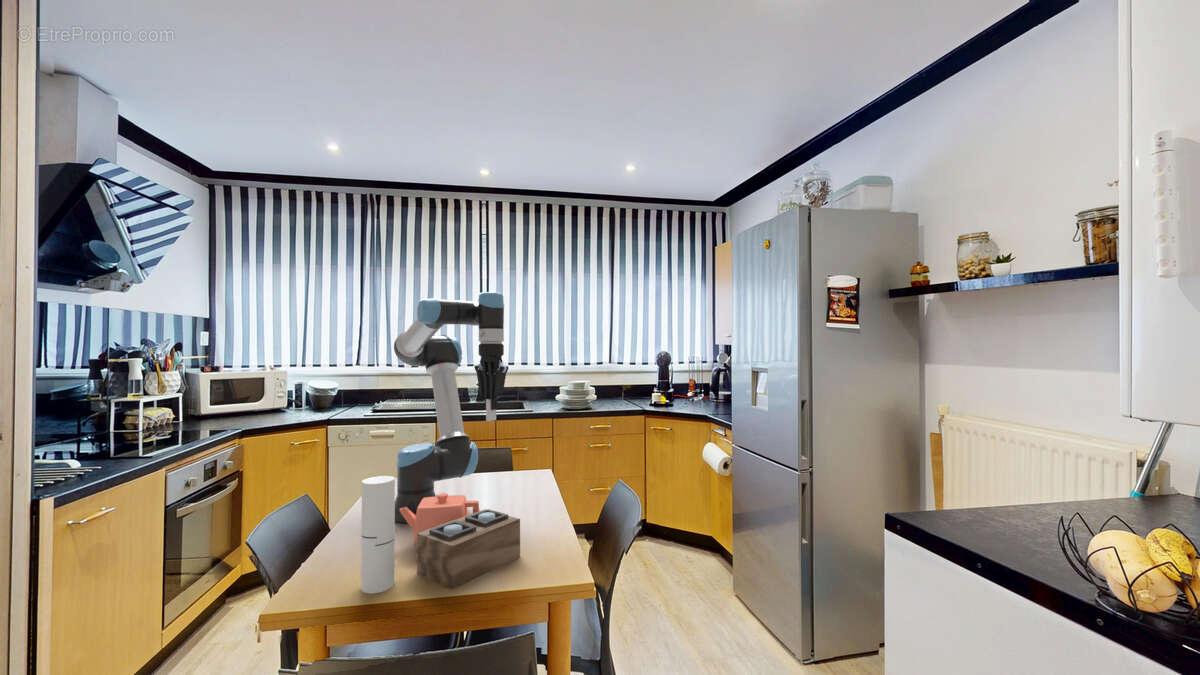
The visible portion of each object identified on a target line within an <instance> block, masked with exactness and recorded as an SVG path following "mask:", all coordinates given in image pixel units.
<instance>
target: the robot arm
mask: <svg viewBox="0 0 1200 675" xmlns="http://www.w3.org/2000/svg"><path fill="white" fill-rule="evenodd" d="M416 310H417V311H416V314H417V318H415V320H414V321H413V323H412V324H411V325H410V326H409V327H408V329H407V330H406V331H403V332H401V333H399V335H397V337H396V338H395V340H394V343H393V351H394V354H395V356H396V358H397V359H398V360H400V361H401V362H402V363H403V364H406V365H409V366H411V367H412V366H413V367H425V370H426V373H427V374H429V375H430V376H431V383H432V390H433V391H432V392H433V397H434V398H433V399H434V405H435V406H434V407H435V411H436V412H435V414H436V418H437V419H436V420H437V427H438V434H439V437H438V439H437V440H436V441H435V445H434V443H432V442H424V443H423V442H422V443H421V442H420V443H416V444H412V445H408V446H406V447H404V448H402V449H400V450H399V452H398V453H397V462H396V468H397V470H396V471H397V472H396V480H397V481H396V483H397V484H396V490H397V493H396V496H395V523H399V524H408V523H407V521H406V520H405V518H404V517H403V515H402V514H401V512H400V508H404V507H407V508H408V509H409V510H410V511H411V512H412V513H414V514H415V515H416V513H417V508H418V506H419V504H420V502H421V501H422V499H423V498H426V497H436V495H437V494H436V493H435V482H440V481H445V480H446V481H447V480H451V479H457V478H463V477H467V476H470V475H472V474H474V472H475V470H476V468H477V465H478V462H479V448H478V446H477V444H476V443H475V442H473V441H471V440H470V436H469V435H468V434H466V433H465V429H464V423H463V422H464V421H463V416H462V410H461V404H460V398H459V397H460V396H459V391H458V385H457V384H458V383H457V377H456V371H457V370H458V369H459V365H460V364H461V363H462V360H463V356H462V355H463V351H462V346H461V343H460V342H459V340H458V338H456V337H455V336H453V335H446V334H442V335H435V334H436V333H437V332H438V331H439V330H441V328H442V327H443V326H444V325H468V326H475V327H476V326H477V327H478V342H479V344H478V356H480V360H479V364H477V365H474V370H475V373H476V378H477V383H478V391H479V396H480V397H483V399H484V408H485V421H486V422H492V421H496V420H497V410H498V399H499V398H502V397H503V394H504V389H505V383H506V376H507V373H508V371H509V369H510V368H509V366H508V365H505V364H504V362H503V358H502V356H504V354H505V351H504V350H505V348H504V347H505V346H504V344H503V342H504V341H505V336H504V335H505V333H504V332H505V331H504V328H505V327H504V326H505V325H504V322H505V321H504V320H505V318H504V317H505V316H504V315H505V314H504V313H505V304H504V295H503V293H501V292H496V291H491V292H490V291H486V292H485V291H484V292H480V293H479V294H478V300H477V301H474V300H473V301H472V300H458V299H457V300H456V299H455V300H453V299H441V298H440V299H438V298H422V299H420V300H419V302H418V306H417V309H416Z"/></svg>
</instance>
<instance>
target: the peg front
mask: <svg viewBox="0 0 1200 675" xmlns="http://www.w3.org/2000/svg"><path fill="white" fill-rule="evenodd" d="M459 531H462V525H459V524H452V525H448V526H446V527H444V533H447V534H450V535H451V534H454V533H457V532H459Z"/></svg>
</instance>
